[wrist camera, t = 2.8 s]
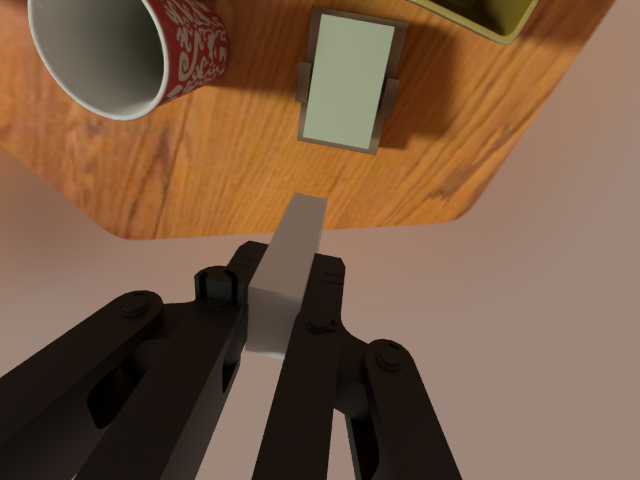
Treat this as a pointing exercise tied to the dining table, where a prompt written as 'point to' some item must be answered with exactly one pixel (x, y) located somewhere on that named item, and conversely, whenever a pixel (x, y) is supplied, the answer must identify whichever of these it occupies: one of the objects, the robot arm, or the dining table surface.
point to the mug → (128, 51)
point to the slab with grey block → (388, 84)
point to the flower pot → (485, 16)
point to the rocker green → (347, 80)
